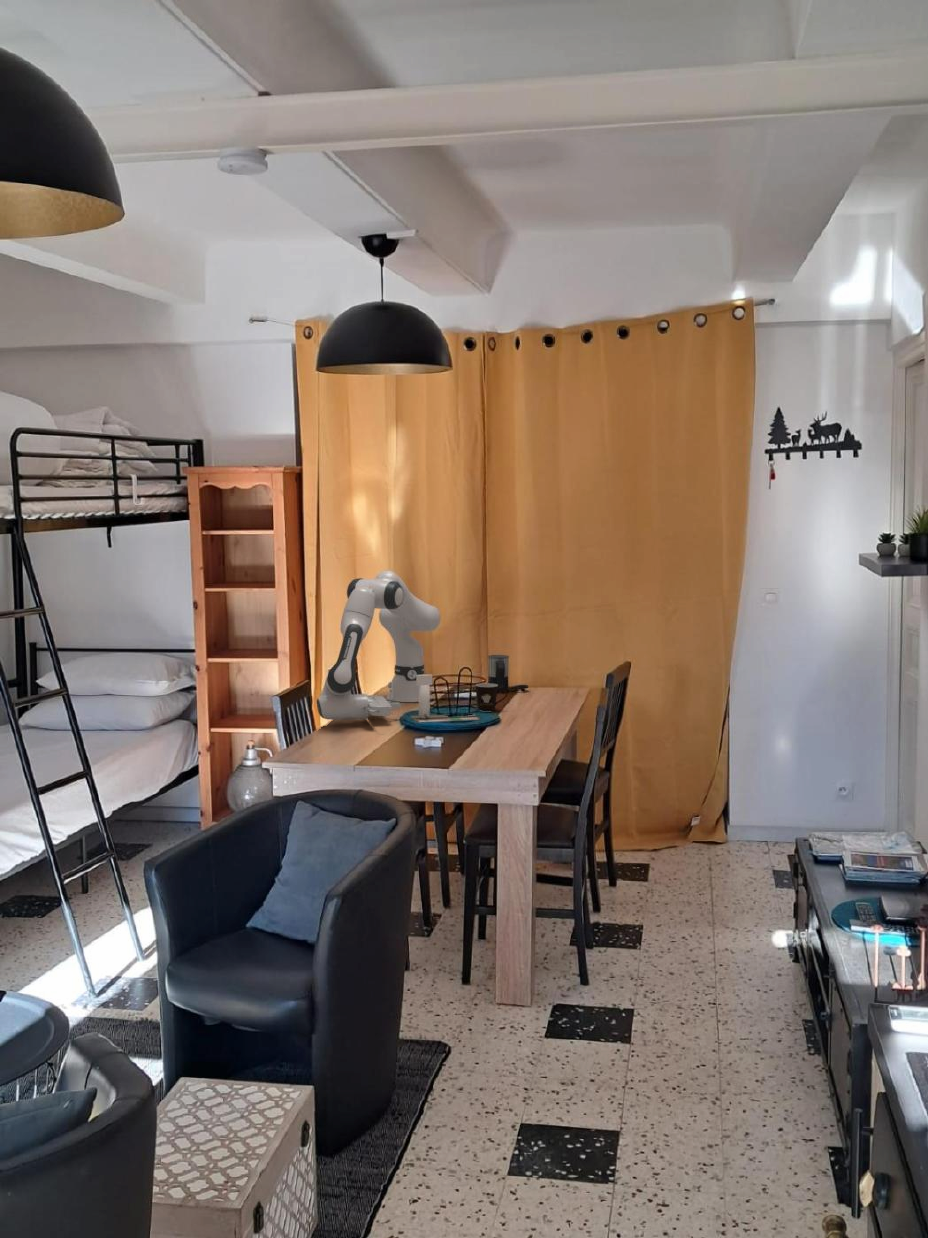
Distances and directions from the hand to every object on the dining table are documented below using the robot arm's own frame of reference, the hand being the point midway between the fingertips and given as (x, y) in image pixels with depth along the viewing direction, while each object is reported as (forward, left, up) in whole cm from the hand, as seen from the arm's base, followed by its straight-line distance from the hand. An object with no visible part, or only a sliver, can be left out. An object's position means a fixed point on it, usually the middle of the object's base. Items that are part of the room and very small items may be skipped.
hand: (400, 705), depth 436 cm
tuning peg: (+2, +9, -5) cm, 10 cm away
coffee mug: (-17, +38, -7) cm, 42 cm away
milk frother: (-60, +56, -7) cm, 82 cm away
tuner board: (0, +17, -7) cm, 18 cm away
